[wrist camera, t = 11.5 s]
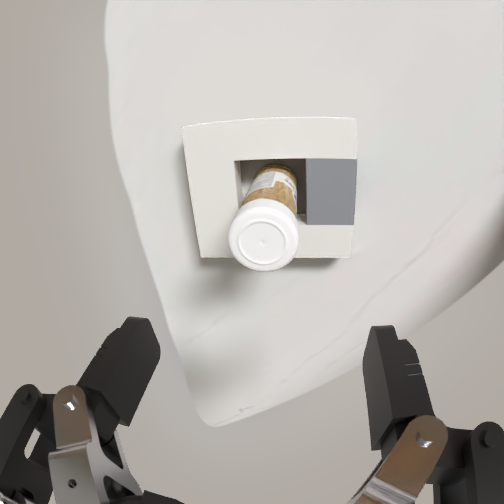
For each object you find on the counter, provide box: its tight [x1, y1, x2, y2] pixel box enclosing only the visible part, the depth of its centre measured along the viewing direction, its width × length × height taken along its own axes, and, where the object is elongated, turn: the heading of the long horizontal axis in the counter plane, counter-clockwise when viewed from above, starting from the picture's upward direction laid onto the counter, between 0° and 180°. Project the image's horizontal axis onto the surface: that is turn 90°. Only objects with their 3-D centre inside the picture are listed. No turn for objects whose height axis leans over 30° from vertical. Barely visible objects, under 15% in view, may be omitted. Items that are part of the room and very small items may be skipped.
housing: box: [181, 117, 357, 258], centre depth 28 cm, size 16×14×3 cm
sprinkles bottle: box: [227, 164, 299, 272], centre depth 24 cm, size 5×5×14 cm
